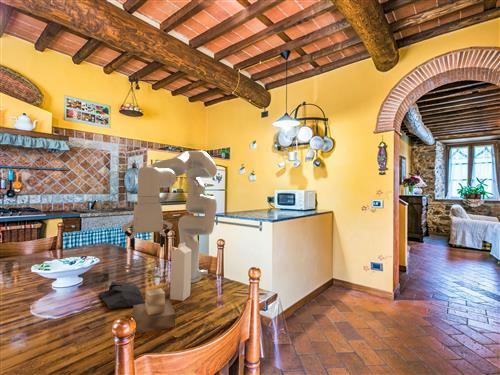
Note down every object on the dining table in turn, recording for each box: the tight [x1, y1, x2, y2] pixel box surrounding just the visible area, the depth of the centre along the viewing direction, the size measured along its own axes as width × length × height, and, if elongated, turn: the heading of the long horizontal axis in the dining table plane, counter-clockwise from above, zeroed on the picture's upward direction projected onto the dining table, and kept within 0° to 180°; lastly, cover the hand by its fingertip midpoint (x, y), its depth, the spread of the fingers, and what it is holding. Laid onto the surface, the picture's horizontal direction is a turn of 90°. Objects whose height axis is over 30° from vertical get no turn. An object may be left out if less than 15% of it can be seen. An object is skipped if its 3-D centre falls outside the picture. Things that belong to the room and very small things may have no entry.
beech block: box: [144, 287, 166, 315], centre depth 85 cm, size 5×5×6 cm
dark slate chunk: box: [99, 281, 145, 310], centre depth 103 cm, size 15×22×5 cm
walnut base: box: [132, 299, 177, 335], centre depth 85 cm, size 12×12×4 cm
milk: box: [169, 242, 192, 302], centre depth 106 cm, size 6×6×22 cm
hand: (147, 247), depth 94 cm, fingers open, 9 cm apart
